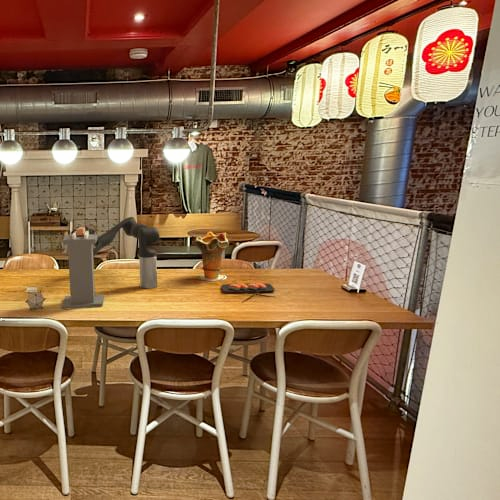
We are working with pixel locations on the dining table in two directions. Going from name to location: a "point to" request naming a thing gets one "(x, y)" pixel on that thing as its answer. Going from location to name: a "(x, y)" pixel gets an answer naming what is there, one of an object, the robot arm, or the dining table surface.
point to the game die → (35, 300)
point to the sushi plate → (248, 288)
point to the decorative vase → (212, 255)
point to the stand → (81, 272)
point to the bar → (80, 231)
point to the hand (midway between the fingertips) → (81, 227)
